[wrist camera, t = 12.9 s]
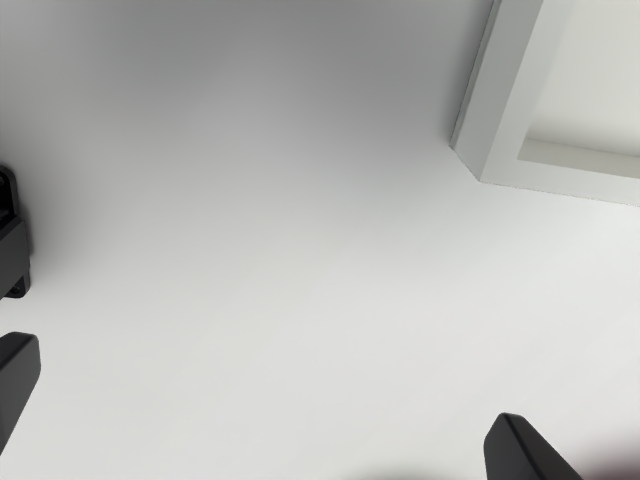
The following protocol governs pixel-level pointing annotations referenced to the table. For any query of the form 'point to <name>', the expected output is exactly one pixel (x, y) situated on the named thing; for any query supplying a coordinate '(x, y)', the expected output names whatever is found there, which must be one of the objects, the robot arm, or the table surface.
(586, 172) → the tray
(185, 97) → the table surface
